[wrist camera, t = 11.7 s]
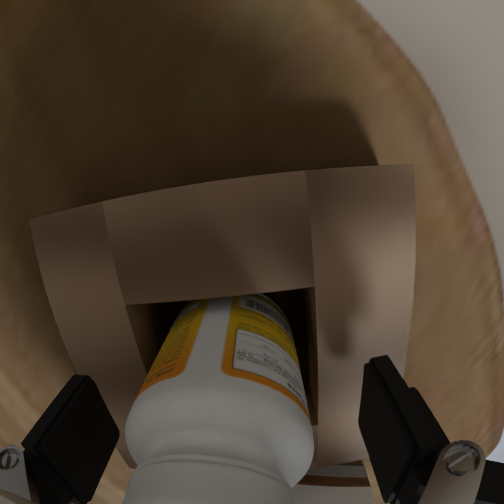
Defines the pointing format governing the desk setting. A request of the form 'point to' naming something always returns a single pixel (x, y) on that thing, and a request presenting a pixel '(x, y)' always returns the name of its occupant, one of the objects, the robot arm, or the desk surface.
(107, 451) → the robot arm
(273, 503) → the supplement bottle
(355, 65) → the desk surface
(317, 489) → the tall seamed white column
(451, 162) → the desk surface
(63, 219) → the socket block
